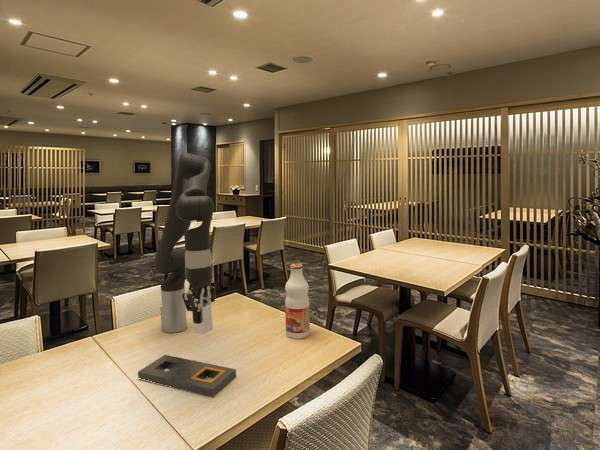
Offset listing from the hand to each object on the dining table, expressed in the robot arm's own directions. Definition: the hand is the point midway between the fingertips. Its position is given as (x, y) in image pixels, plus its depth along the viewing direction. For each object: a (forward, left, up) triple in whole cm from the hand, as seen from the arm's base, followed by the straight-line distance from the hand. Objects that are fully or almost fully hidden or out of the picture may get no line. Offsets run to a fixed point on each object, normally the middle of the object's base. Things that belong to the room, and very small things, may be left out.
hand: (202, 320), depth 114 cm
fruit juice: (+13, +42, -20) cm, 49 cm away
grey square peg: (0, 0, -3) cm, 3 cm away
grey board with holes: (-7, 0, -20) cm, 21 cm away
